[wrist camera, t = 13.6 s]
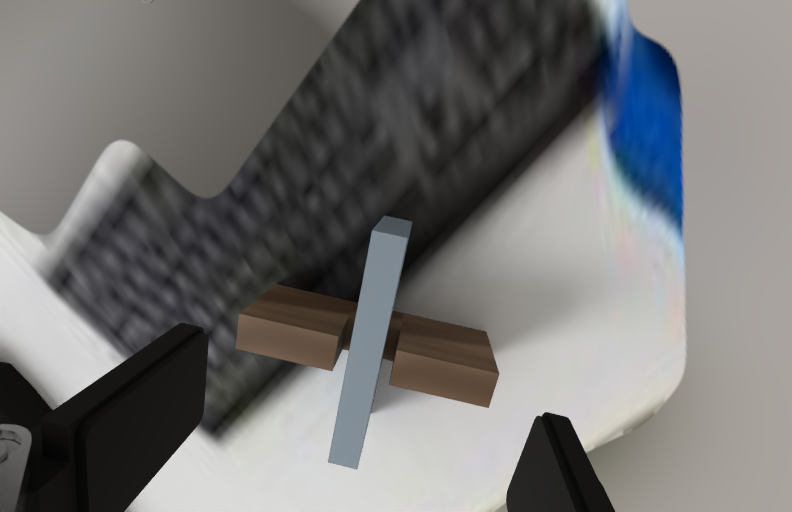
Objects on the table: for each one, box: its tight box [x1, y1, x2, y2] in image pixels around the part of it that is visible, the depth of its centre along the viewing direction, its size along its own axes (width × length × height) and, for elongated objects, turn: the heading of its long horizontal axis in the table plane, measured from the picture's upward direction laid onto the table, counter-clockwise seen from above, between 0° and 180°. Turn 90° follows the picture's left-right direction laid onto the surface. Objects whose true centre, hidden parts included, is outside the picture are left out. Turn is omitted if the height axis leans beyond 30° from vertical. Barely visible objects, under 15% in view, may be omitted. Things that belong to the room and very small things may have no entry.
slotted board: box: [236, 284, 499, 408], centre depth 32 cm, size 3×20×7 cm, turn 78°
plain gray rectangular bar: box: [328, 216, 412, 469], centre depth 32 cm, size 20×2×7 cm, turn 168°
